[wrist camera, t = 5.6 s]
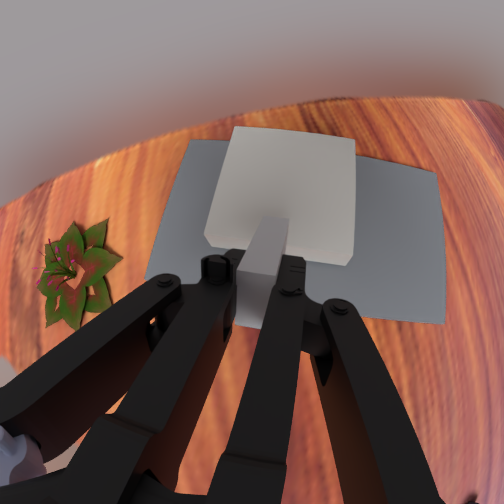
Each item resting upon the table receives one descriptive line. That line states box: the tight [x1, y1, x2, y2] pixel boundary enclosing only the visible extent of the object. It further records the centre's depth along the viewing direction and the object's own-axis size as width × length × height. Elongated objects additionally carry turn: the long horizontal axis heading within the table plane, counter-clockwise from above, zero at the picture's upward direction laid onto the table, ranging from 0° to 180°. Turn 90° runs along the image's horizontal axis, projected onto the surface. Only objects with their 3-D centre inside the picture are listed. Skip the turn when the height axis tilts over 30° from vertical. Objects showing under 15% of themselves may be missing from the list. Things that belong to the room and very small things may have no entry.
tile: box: [204, 126, 356, 266], centre depth 21 cm, size 10×3×10 cm
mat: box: [144, 140, 446, 324], centre depth 22 cm, size 24×14×1 cm, turn 79°
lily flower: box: [33, 219, 123, 332], centre depth 21 cm, size 12×12×5 cm
